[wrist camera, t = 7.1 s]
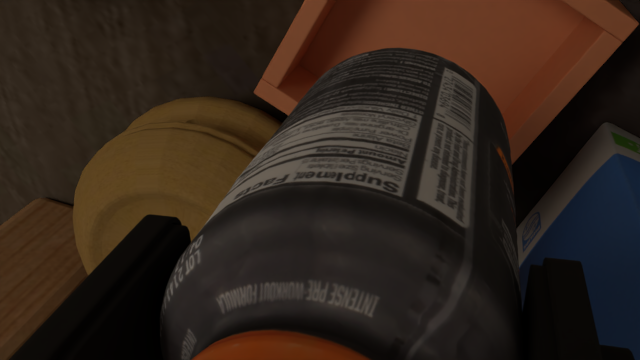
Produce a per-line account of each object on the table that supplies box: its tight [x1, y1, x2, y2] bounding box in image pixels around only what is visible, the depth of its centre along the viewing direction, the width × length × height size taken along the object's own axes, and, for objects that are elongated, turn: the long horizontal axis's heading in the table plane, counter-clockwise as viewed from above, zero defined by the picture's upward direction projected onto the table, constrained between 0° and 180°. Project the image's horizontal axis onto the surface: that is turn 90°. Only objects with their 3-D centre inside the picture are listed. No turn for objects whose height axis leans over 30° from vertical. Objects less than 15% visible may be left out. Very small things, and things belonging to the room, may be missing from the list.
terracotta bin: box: [254, 0, 639, 164], centre depth 26 cm, size 11×11×4 cm
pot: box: [73, 96, 282, 275], centre depth 29 cm, size 12×12×10 cm
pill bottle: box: [160, 48, 525, 360], centre depth 12 cm, size 6×6×11 cm
